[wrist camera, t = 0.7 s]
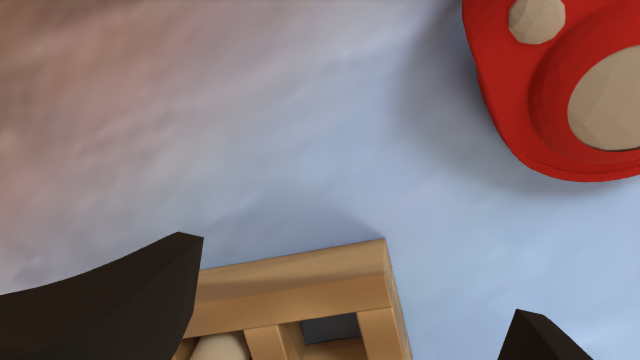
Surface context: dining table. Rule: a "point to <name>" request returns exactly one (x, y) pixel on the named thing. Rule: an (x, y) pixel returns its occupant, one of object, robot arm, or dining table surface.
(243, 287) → the pen block
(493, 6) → the red curved piece
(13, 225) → the dining table surface
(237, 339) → the marker
